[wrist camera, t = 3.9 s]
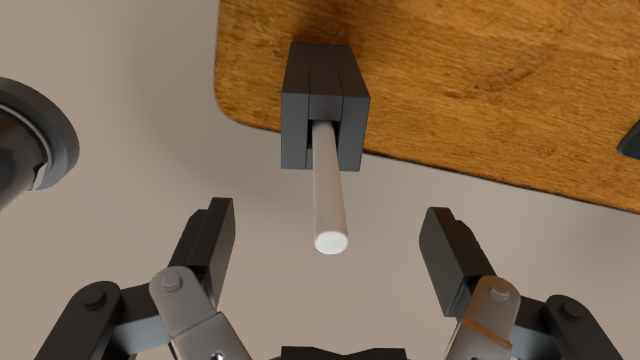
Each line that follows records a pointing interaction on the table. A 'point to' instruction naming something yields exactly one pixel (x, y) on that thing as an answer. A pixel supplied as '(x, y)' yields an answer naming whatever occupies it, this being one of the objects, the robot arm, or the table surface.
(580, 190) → the table surface
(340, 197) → the stylus
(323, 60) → the pen stand
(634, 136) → the smartphone
